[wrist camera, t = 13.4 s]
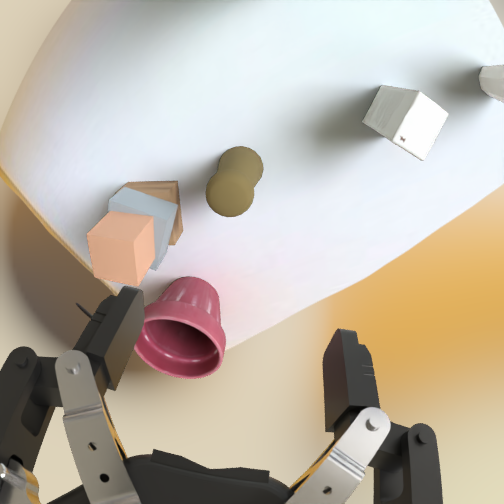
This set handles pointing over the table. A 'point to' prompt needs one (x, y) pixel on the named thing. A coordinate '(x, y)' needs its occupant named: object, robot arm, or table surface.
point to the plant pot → (183, 330)
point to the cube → (122, 247)
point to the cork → (234, 182)
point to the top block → (149, 206)
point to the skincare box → (406, 119)
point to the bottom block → (165, 192)
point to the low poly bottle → (493, 81)
